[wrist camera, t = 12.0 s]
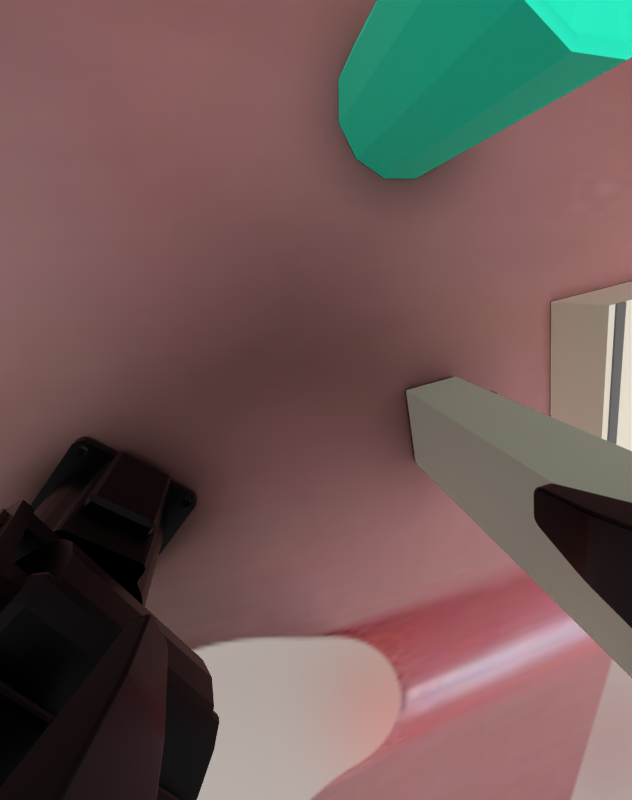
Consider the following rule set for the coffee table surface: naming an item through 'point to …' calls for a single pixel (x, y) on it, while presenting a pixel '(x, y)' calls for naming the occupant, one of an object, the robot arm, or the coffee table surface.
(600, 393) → the block
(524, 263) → the coffee table surface
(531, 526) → the pale green upright box
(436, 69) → the candle
